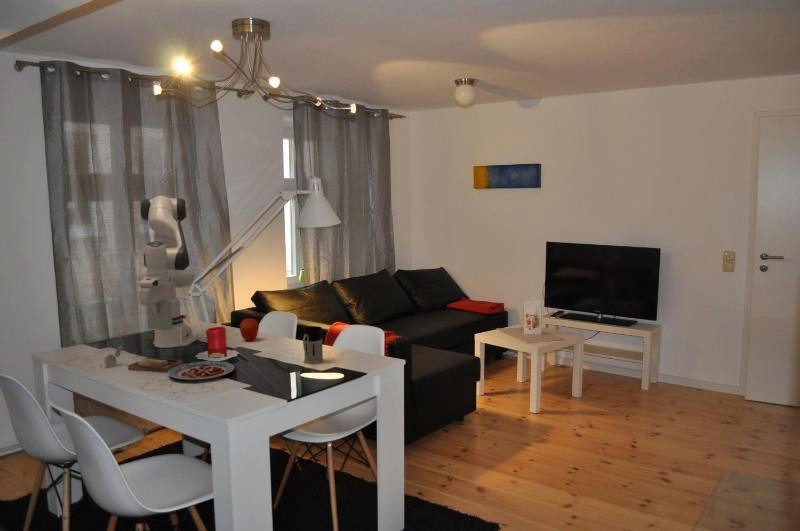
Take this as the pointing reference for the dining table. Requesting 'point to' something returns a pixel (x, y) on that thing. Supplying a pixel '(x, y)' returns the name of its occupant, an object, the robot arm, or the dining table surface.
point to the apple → (249, 329)
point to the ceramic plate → (201, 370)
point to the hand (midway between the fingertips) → (159, 312)
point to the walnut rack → (171, 364)
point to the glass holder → (313, 345)
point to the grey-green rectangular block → (160, 316)
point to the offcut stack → (153, 362)
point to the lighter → (112, 358)
